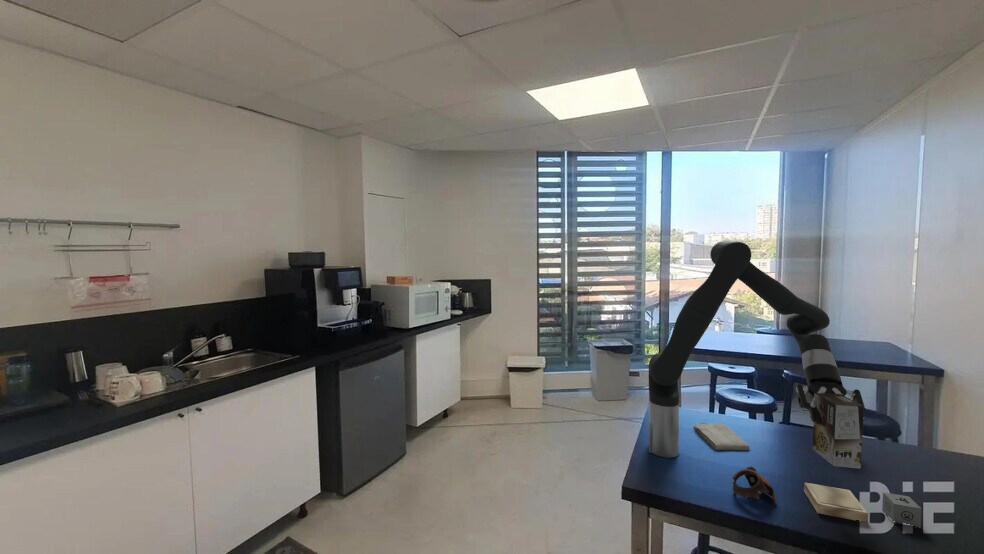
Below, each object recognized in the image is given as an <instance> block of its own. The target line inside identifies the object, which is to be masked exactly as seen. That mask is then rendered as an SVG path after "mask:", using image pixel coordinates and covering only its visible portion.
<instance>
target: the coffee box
mask: <svg viewBox="0 0 984 554" xmlns="http://www.w3.org/2000/svg"><path fill="white" fill-rule="evenodd" d="M814 398H815V402H816V408H817V410H818V413H819V417H820V423H819V425H818V424H815V423H814V422H813V424H812V425H813V427H812V428H813V429H812V430H813V431H812V450H813V451H814V452H815V453H817V454H818V455H820V457H821V458H823V459H824V460H825V461H827V462H828V463H829V464H830V465H832V466H833V467H839V468H840V467H841V468H848V469H849V468H852V469H859V470H860V469H861V468H862V450H863V449H862V448H863V433H864V431H863V429H864V416H865V415H864V414H865V413H864V406H865V405H864V406H863V405H861V404H859V403H857V402H855V401H853V400H852V399H850V397H848V396H846V395H845V396H843V395H841V394H835V393H814V397H813V399H814Z"/></svg>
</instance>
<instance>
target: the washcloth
mask: <svg viewBox="0 0 984 554" xmlns="http://www.w3.org/2000/svg"><path fill="white" fill-rule="evenodd" d="M692 427H693V429H694V430H695V431H696V432H697V431H698V432H699V434H698V435H699V436H700V437H701V438H702V437H703V438H702V439H703V440H704V441H705V440H706V441H705V442H706V443H707V444H709V445H710V446H711V448H713V450H717V451H727V450H729V451H748V450H751V449H750V445H749V444H748V443H747V442H746V441H745V440H744V439H743V438H741V437H740V436H739V435H738V434H737V433H735V432H734V430H732V429H730V428H729V426H727V424H725V423H721V422H716V423H708V422H700V423H699V422H698V423H696V422H695V423H694V425H693V426H692Z"/></svg>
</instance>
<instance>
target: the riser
mask: <svg viewBox="0 0 984 554" xmlns="http://www.w3.org/2000/svg"><path fill="white" fill-rule="evenodd" d="M803 492H804V493H805V495H806V497H807V498H808V500H809V502H810V503H811V505H812V506H813V508H814V509H815V511H816V514H819V515H820V514H821V515H826V516H831V517H836V518H839V519H840V518H841V519H847V520H850V521H856V520H859V521H858V522H861V521H865V522H864V523H866V522H868V523H869V512H868V511H867V510H866V509H865V507H864V506H863V505H862V503H860V501H859V500H858V499H857V497H855V494H853V492H852V491H851V490H850V489H845V488H838V487H832V486H828V485H827V486H826V485H821V484H815V483H810V482H805V481H804V482H803Z"/></svg>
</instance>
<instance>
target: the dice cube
mask: <svg viewBox="0 0 984 554" xmlns="http://www.w3.org/2000/svg"><path fill="white" fill-rule="evenodd" d="M881 506H882V507H881V509H882V510H883V511H884V512H885V513H886V514H887V515H888V516H889V517H890V518H891V519H892V520H893V521H897V522H903V523H906V524H910V525H913V526H916V527H915V528H917V527H918V528H919V529H921V526H922V525H921V524H922V508H921V506H920V505H918V504H917V503H916V502H915V501H914V500H913V499H912V498H911V497H910V496H908V495H902V494H895V493H891V492H884V491H883V492H882V505H881ZM882 510H881V511H882ZM883 511H882V512H883ZM884 512H883V513H884ZM885 513H884V514H885ZM886 514H885V515H886ZM887 515H886V516H887ZM888 516H887V517H888Z"/></svg>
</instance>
